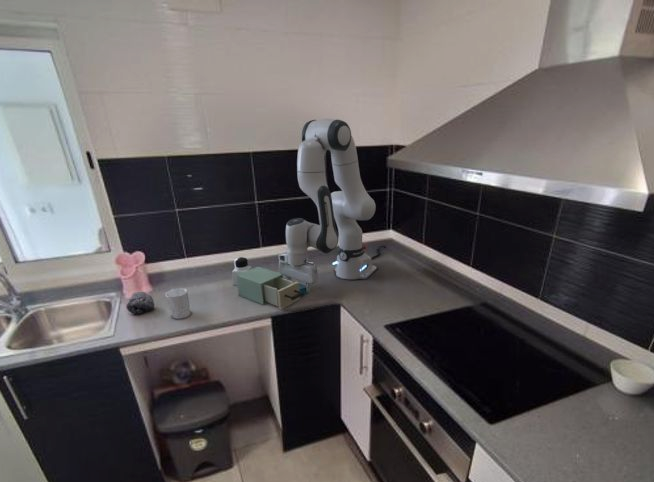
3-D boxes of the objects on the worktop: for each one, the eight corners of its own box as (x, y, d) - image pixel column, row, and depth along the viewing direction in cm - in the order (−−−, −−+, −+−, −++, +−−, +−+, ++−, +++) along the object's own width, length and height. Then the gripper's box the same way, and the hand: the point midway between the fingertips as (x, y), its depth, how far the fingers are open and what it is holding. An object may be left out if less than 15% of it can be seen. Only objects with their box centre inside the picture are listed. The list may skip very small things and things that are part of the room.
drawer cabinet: (284, 294, 168) (282, 274, 164) (263, 304, 160) (260, 283, 155) (260, 285, 177) (258, 266, 172) (239, 295, 168) (236, 275, 163)
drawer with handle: (308, 301, 159) (307, 284, 156) (289, 312, 152) (288, 294, 148) (276, 290, 170) (274, 274, 166) (256, 299, 162) (254, 282, 158)
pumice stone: (141, 322, 152) (161, 306, 158) (131, 308, 147) (152, 292, 152) (126, 315, 157) (146, 300, 162) (116, 301, 152) (136, 286, 157)
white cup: (171, 312, 154) (165, 290, 150) (191, 309, 157) (186, 286, 152) (171, 321, 148) (165, 298, 143) (192, 317, 150) (187, 294, 146)
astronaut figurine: (253, 279, 183) (250, 256, 177) (248, 285, 177) (245, 261, 171) (239, 279, 183) (235, 255, 178) (233, 285, 177) (230, 261, 171)
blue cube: (300, 290, 171) (299, 283, 170) (307, 293, 169) (307, 285, 167) (293, 294, 168) (292, 286, 167) (300, 296, 166) (300, 289, 164)
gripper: (321, 261, 157) (321, 291, 164) (285, 251, 168) (287, 280, 174) (311, 265, 153) (312, 296, 159) (275, 255, 164) (277, 284, 170)
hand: (299, 287), depth 167 cm, fingers open, 8 cm apart
